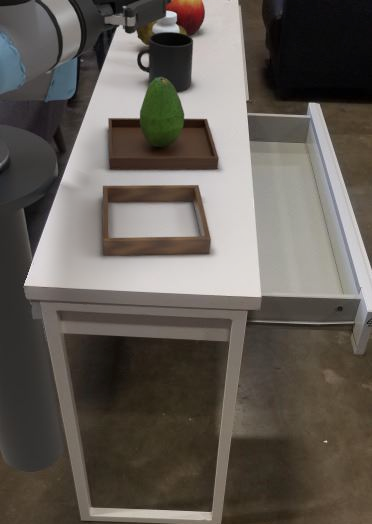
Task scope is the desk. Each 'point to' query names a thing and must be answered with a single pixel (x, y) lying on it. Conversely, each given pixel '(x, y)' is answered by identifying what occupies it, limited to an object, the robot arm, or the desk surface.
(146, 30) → the potato
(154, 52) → the mug
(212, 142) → the tray
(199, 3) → the fruit
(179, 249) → the wooden frame
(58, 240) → the desk surface
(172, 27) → the pill bottle
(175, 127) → the avocado
